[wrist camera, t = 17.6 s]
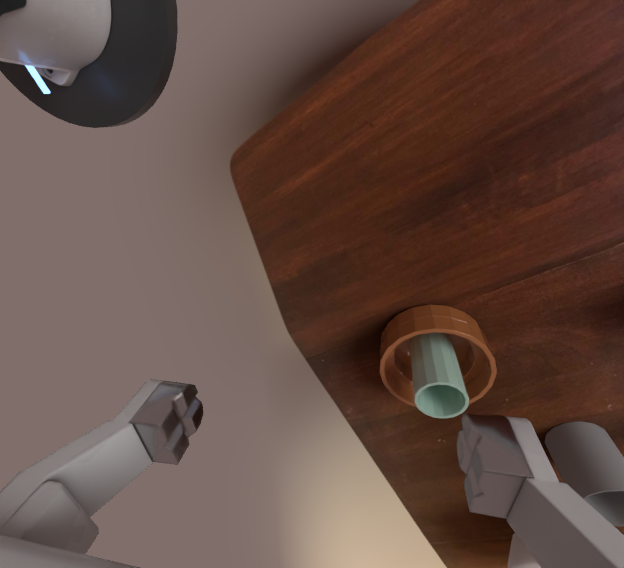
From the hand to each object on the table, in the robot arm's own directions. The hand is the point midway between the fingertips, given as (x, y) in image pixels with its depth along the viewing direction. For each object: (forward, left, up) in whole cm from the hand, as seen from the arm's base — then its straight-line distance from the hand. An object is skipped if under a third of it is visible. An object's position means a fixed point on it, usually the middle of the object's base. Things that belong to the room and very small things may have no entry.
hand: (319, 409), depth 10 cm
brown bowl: (+17, -18, -32) cm, 41 cm away
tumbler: (+17, -18, -32) cm, 40 cm away
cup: (+45, -26, -32) cm, 61 cm away
